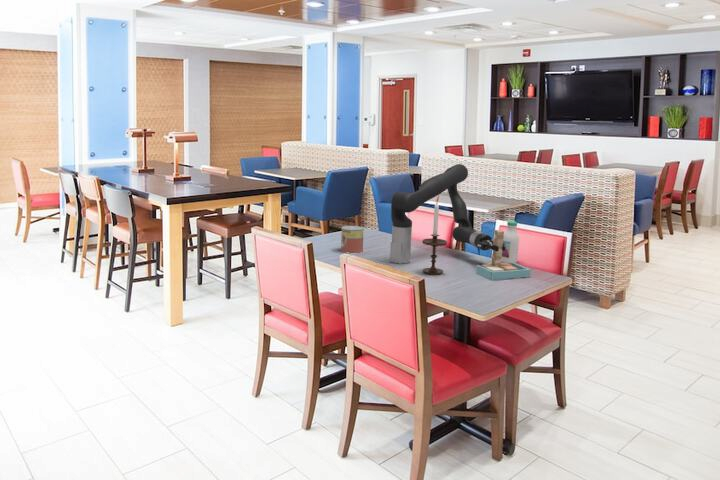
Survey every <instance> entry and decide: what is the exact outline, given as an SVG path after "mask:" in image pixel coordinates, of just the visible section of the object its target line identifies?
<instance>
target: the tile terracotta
mask: <svg viewBox="0 0 720 480" xmlns="http://www.w3.org/2000/svg"><path fill="white" fill-rule="evenodd" d="M500 268H501V269H504V271H510V270H517V269H518V268H515V267H513V266H512V264H511V265H510V266H500Z"/></svg>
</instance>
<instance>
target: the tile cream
mask: <svg viewBox="0 0 720 480" xmlns="http://www.w3.org/2000/svg"><path fill="white" fill-rule="evenodd" d="M486 269H488V270H490V271H492V272H497V271H504V269H501V268H499V267H487V268H486Z"/></svg>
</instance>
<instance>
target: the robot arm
mask: <svg viewBox="0 0 720 480" xmlns="http://www.w3.org/2000/svg"><path fill="white" fill-rule="evenodd" d="M468 175H469V170H468V168H467V167H466V166H465V165H464V164H461V163H457V164H455V165H452V166H451V167H448V168H446V169H445V170H444V172H442V173H440V174H436V175H433V176H432V177H429V178H428V179H426V180H424V181H422V183H421V184H420V186H419V189H418V190H416V191H414V192H404V191H396V192H394V194H393V195H392V197H391V202H390V205H391V206H390V208H391V209H390V210H391V211H390V212H391V215H390V216H391V218H390V219H391V222H392V223H391V224H392V226H391V227H392V229H391V231H392V232H391V242H390V250H389V251H390V252H389V262H391V263H394V264H401V265H402V264H408V263H410V262H411V249H412V235H413V234H412V231H413V221H412V220H411V219H410V218H409V217H408V216H407V215H406V214H407V213H408V214H409V213H413V212H414V211H416V210H417V209H418V208H419V207H421V206H422V205H424V204H425V203H427V202H428V201H430V200H431V199H433V198H436V197H438V196H440V195H441V194H442V193H443V192H445V191H447V193H448V196H449V199H450V202H451V207H452V215H453V221H454V223H455V224H458V225H460V226H456V227H454V228H453V229H452V232H451V236H452V238H453V240H454V241H457V242H460V243H466V244H469V245H471V246H473V247H474V248H476V249H478V250H482V251H493V250H494V251H499V247H498V246H495V245H493V243H494V239H493V238H492V236H491V235H489V234H487V233H484V232H481V231H477V230H474V229H473V226H472V224H471V222H470V219H469V216H468V209H467V208H468V207H467V205H466V202H465V201H464V199H463V198H462V196H461V195H460V194H459V191H458V184H460V183H463V182H464V181H466V180H467V178H468ZM505 250H506V247H505V246H504V243H503V247H502V251H505Z"/></svg>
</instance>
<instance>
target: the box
mask: <svg viewBox="0 0 720 480" xmlns="http://www.w3.org/2000/svg"><path fill="white" fill-rule="evenodd" d="M511 266H513V267H515V268H518V269H517V270H510V271H497V272H492V271H490V270H488V269H486V268H484V267H481V265H479V264H478V265H476V274H478V275H479V276H481V277H484V278H486V279H487V280H490V281H498V280H499V279H501V280H510V279H509V278H514V279H522V278H521V277H526V278H531V272H532V270H531V269H530V268H528V267H525V266H523V265H521V264H518V263H511Z"/></svg>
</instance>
